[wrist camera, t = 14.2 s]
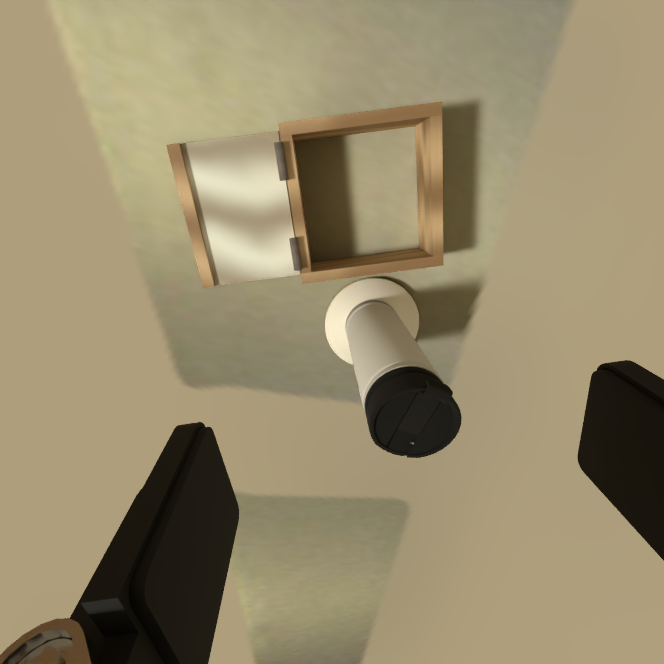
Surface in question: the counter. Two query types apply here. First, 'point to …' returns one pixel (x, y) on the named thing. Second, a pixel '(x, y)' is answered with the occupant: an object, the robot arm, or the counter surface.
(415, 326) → the saucer
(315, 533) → the counter surface
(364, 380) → the travel mug
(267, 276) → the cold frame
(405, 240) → the counter surface
